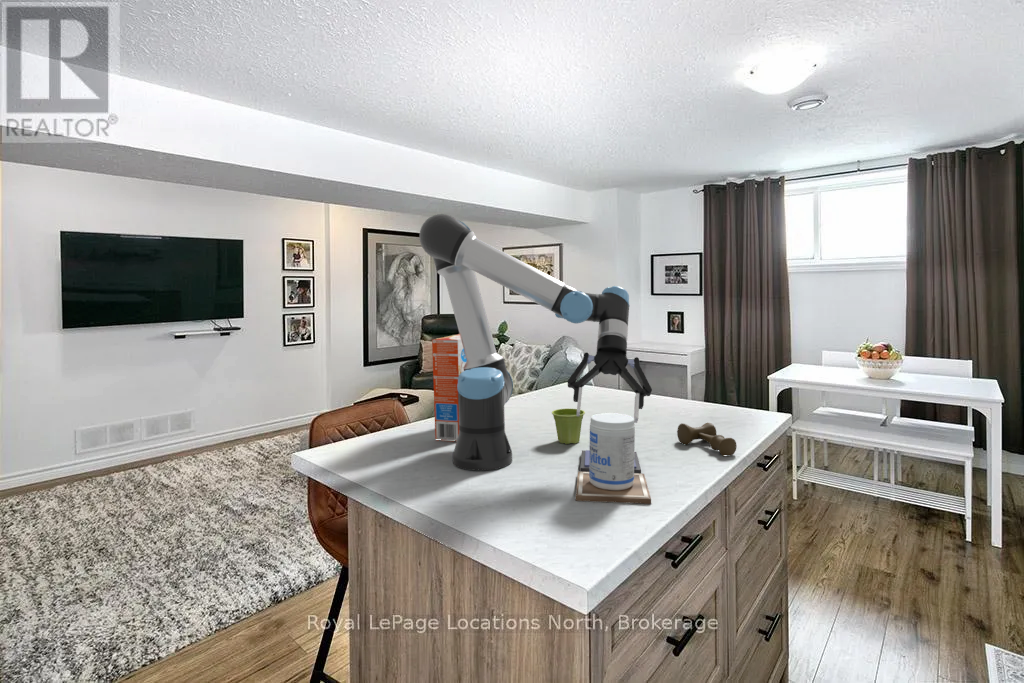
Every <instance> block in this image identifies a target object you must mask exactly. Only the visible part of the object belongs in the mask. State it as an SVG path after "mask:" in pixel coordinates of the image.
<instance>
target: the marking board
mask: <svg viewBox="0 0 1024 683" xmlns="http://www.w3.org/2000/svg"><path fill="white" fill-rule="evenodd" d="M646 479H647V478H646V476H645V473H641V474H640V473H634V483H633V485H632V486H631V487H630V488H628V489H624V490H615V491H614V490H604V489H600V488H598V487H596V486H594V485H593V484H592V483H591V482H590V479H589V472H580V471H577V478H576V489H575V501H576V502H593V503H595V502H597V503H598V502H599V503H622V504H643V503H644V505H645V504H646V505H652V497H651V494H650V491H649V487H648V483H647V482H648V481H647V480H646Z"/></svg>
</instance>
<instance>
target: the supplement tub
mask: <svg viewBox="0 0 1024 683" xmlns="http://www.w3.org/2000/svg"><path fill="white" fill-rule="evenodd" d="M635 424H636V423H634V416H631V415H629V414H625V413H617V412H601V413H596V414H593V415H591V416H590V423H589V450H590V460H589V479H590V482H591V483H592V484H593V485H594V486H596V487H598V488H600V489H604V490H614V491H615V490H624V489H628V488H630V487H631V486H632V485H633V483H634V452H636V451H635V444H636V443H635V441H636V437H635V436H636V435H635V434H636V425H635Z"/></svg>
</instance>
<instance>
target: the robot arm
mask: <svg viewBox="0 0 1024 683" xmlns="http://www.w3.org/2000/svg"><path fill="white" fill-rule="evenodd" d="M422 223H423V224H422V225H421V228H420V230H419V242H420V246H421V247H422V249H423V250H424V252H425V253H426V254H427V255H429V256H430V257H432V258H433V262H434V266H435V270H436V272H437V274H438V275H440V276H442V278H444V283H445V285H446V289H447V292H448V295H449V300H450V303H451V307H452V311H453V315H454V318H455V321H456V322H455V323H456V325H457V330H458V334H460V337H461V341H462V344H463V348H464V352H465V355H466V359H467V362H466V364H465V366H464V367H463V369H464V371H463V372H462V373H461V374H460V375H459V377H458V384H457V390H458V409H459V435H458V439H457V442H456V443H455V445H454V449H453V453H452V463H453V466H455V467H457V468H459V469H463V470H467V471H491V470H492V471H493V470H497V469H502V468H505V467H508V466H509V465H510V464H511V463H512V462H513V451H512V448H511V445H510V441H509V440H508V436H507V433H506V428H505V427H506V426H505V425H506V424H505V423H506V422H505V420H506V419H505V405H506V404H507V403H508V402H509V401H510V398H511V396H512V394H513V391H514V381H513V378H512V376H511V373H510V372H509V371H508V370H507V365H506V361H505V359H504V356H502V355H501V354H499V353H498V352H497V349H496V346H495V341H494V338H493V335H492V331H491V327H490V323H489V320H488V316H487V312H486V309H485V308H486V307H485V304H484V300H483V297H482V293H481V291H480V286H479V283H478V279H477V275H476V273H478V274H479V275H481V276H483V277H485V278H487V279H488V280H490V281H493V282H494V283H497V284H499V285H501V286H503V287H504V288H507V290H510V291H512V292H515V293H516V294H518V295H519V296H522V297H524V298H526V299H527V300H529V301H531V302H533V303H535V304H537V305H539V306H541V307H543V308H545V309H547V310H548V311H550V312H552V313H554V314H555V315H554V316H555V317H556V318H559V319H564V320H566V321H567V322H569V323H572V324H581V323H584V322H592V323H598V330H597V332H598V333H597V342H596V353H595V355H591V354H589V353H588V352H584V354H583V356H582V357H583V358H582V360H581V361H580V363H579V364H578V366H577V367H576V369H575V370H574V371H573V373H572V374H571V375H570V376H569V378H568V380H567V388H569V389H570V388H571V389H573V400H572V401H573V402H574V403H577V405H576V406H577V407H576V409H577V415H576V416H580V410H581V408H582V407H581V406H582V405H581V404H582V396H583V388H584V386H585V385H587V384H588V383H589V382H591V380H593V379H594V378H595V377H596V376H598V375H599V374H600V373H602V374H603V375H611V376H617V375H619V376H620V377H621V379H623V380H624V381H625V382H626V383H627V385H628V386H629V387H630V388H631V390H632V391H633V392H634V393H635V396H634V410H633V418H634V424H637V423H638V421H639V414H640V412H639V410H642V409H643V408H644V405H645V404H644V403H645V402H644V401H645V399H644V398H645V397H650V396H651V394H652V392H653V389H652V387H651V385H650V383H649V381H648V379H647V377H646V375H645V373H644V371H643V369H642V367H641V364H640V358H639V357H637V356H636V357H634V358H632V359H631V358H630V359H629V358H628V357H627V350H628V342H627V341H628V333H629V332H628V331H629V327H628V326H629V313H630V295H629V293H628V291H627V289H625V288H623V287H621V286H615V285H614V286H611V287H610V286H608V287H605V288H604V289H603V290H602V292H601V293H590V292H589V293H588V292H584V291H581V290H578V289H576V288H574V287H573V286H571V285H568V284H566V283H565V282H563V281H561V280H559V279H557V278H555V277H553V276H551V275H549V274H548V273H545V272H543V271H542V270H540V269H537V268H536V267H534V266H531V264H528V263H526V262H524V261H522V260H520V259H518V258H516V257H514V256H512V255H510V254H508V253H507V252H505V251H503V250H500V249H499V248H497V247H495V246H493V245H491V244H490V243H487V242H485V241H483V240H482V239H479V238H477V236H476V234H475V232H474V231H473V230H471V228H470V227H469V226H468V225H467V224H466V223H465V222H463V221H460V220H458V219H456V218H455V217H453V216H451V215H449V214H445V213H437V214H435V215H432V216H429V217H428V218H427V219H425V221H424V222H422ZM591 362H594V365H593V368H591V369H590V370H589V371H588V372H587V373H585V374H584V375H583V376H582V377H581V378H580V376H581V375H582V374H583V372H584V371H585V369H586V368H587V366H588V365H590V364H591ZM628 365H629V366H630V368H631V369H633V371H634V372H633V373H634V374H635V377H636V378H637V380H638V381H637V380H636V379H635V378H634V377H633V376H632V374H631V373H630V372H629V371H628V368H627V366H628Z"/></svg>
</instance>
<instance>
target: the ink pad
mask: <svg viewBox="0 0 1024 683" xmlns="http://www.w3.org/2000/svg"><path fill="white" fill-rule="evenodd" d="M589 460H590V449H586V450H581V456H580V466H579V467H580V471H579V472H589ZM634 473H640V474H642V468H641V464H640V460H639V456H638V453H637V451H635V452H634Z"/></svg>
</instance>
